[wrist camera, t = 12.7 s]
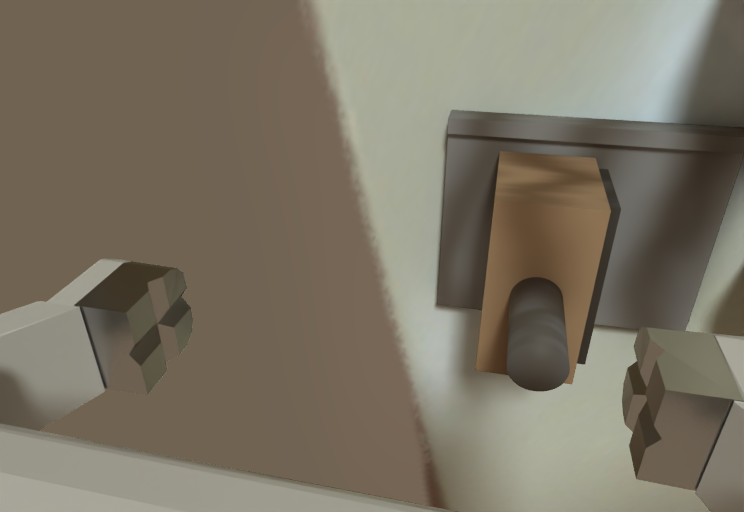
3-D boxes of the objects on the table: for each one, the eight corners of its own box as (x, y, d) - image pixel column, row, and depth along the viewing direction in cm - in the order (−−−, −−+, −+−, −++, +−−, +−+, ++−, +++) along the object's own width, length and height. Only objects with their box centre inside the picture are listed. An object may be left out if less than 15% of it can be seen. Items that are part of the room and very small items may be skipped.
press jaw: (608, 158, 37) (648, 274, 25) (576, 312, 43) (595, 464, 31) (499, 150, 38) (488, 256, 26) (482, 301, 44) (467, 443, 32)
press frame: (1053, 146, 33) (1235, 225, 24) (927, 353, 40) (1032, 468, 32) (451, 110, 40) (431, 162, 31) (439, 293, 47) (420, 375, 39)
